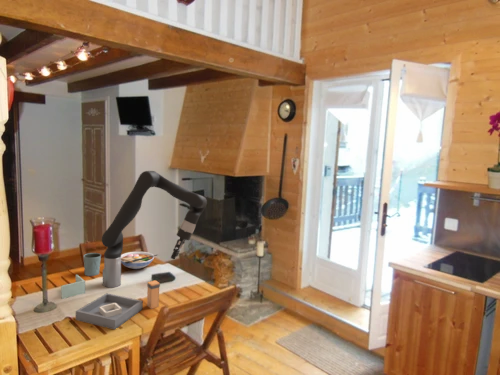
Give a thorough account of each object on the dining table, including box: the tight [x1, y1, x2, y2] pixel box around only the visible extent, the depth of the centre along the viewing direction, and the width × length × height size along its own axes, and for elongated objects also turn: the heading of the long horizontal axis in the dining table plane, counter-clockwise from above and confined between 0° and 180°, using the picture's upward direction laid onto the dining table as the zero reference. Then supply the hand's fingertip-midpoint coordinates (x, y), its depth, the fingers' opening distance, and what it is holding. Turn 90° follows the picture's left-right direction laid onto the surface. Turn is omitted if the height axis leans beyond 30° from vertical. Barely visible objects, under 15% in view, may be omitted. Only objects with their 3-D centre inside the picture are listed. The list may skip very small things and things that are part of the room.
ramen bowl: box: [121, 251, 158, 270], centre depth 245 cm, size 25×23×8 cm
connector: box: [146, 279, 161, 310], centre depth 192 cm, size 5×5×13 cm
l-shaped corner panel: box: [60, 274, 86, 300], centre depth 203 cm, size 12×12×8 cm
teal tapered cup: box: [83, 252, 102, 277], centre depth 230 cm, size 10×10×12 cm
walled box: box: [75, 292, 144, 330], centre depth 181 cm, size 22×22×4 cm
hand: (173, 257), depth 196 cm, fingers open, 8 cm apart
